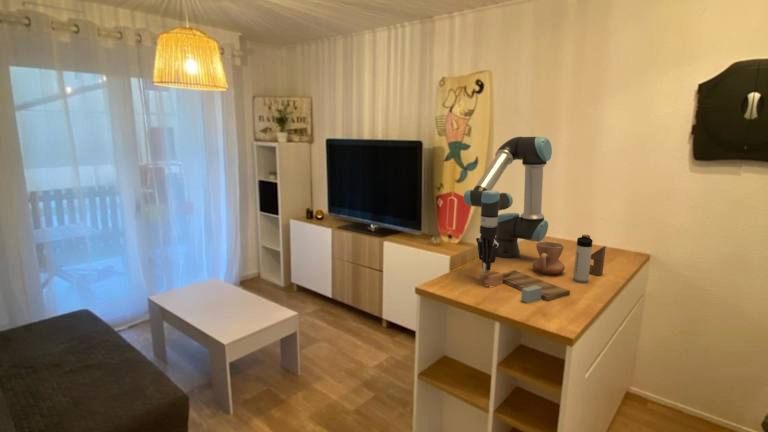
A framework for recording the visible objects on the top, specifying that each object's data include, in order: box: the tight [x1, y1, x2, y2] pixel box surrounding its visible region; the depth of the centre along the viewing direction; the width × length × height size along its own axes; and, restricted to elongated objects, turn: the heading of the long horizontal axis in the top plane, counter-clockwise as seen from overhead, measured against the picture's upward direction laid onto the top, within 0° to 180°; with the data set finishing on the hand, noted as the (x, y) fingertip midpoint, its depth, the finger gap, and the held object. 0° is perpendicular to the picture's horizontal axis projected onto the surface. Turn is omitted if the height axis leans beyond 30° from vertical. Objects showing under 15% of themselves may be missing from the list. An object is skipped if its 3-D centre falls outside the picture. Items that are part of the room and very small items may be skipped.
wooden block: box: [581, 234, 607, 277], centre depth 196 cm, size 4×11×18 cm, turn 43°
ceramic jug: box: [532, 240, 566, 276], centre depth 196 cm, size 18×14×14 cm
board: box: [503, 270, 571, 302], centre depth 178 cm, size 30×14×2 cm, turn 30°
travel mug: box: [572, 235, 594, 284], centre depth 184 cm, size 6×7×20 cm
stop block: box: [520, 285, 542, 304], centre depth 163 cm, size 3×8×5 cm, turn 120°
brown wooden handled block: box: [479, 270, 512, 288], centre depth 183 cm, size 6×16×5 cm, turn 121°
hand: (485, 276), depth 185 cm, fingers closed
